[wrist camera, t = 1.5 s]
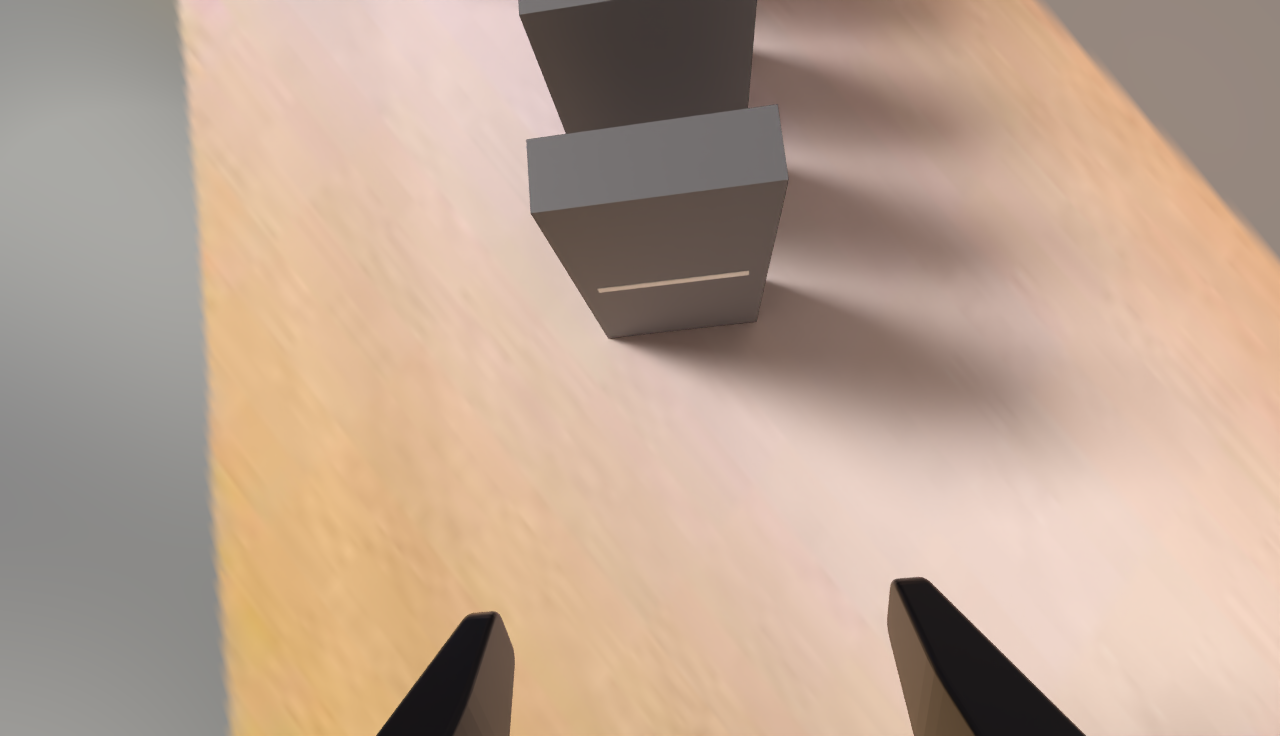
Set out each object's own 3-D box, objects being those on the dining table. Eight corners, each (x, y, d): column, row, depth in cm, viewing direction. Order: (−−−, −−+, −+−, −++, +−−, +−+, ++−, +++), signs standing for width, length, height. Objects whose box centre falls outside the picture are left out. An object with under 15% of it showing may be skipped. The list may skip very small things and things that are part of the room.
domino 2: (756, 322, 23) (788, 180, 13) (608, 338, 23) (530, 214, 13) (750, 275, 23) (777, 103, 13) (604, 293, 23) (526, 138, 14)
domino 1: (740, 197, 24) (759, -23, 14) (598, 216, 24) (519, 15, 14) (734, 154, 24) (749, -90, 14) (595, 173, 24) (515, -51, 15)
